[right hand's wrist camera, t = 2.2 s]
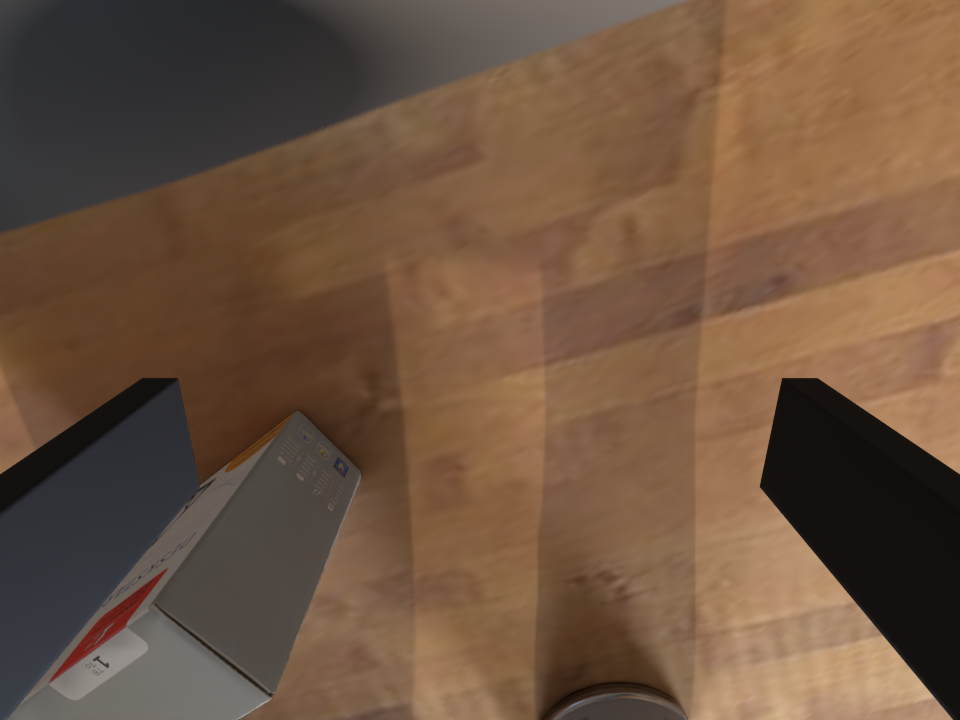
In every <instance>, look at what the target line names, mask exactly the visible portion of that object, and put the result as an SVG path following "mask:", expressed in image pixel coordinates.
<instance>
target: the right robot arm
mask: <svg viewBox="0 0 960 720" xmlns="http://www.w3.org/2000/svg"><path fill="white" fill-rule="evenodd" d="M199 488H200V483H199V478H198V473H197V469H196V464H195V459H194V454H193V449H192V444H191V440H190V435H189V430H188V425H187V420H186V415H185V411H184V406H183V401H182V396H181V391H180V386H179V382H178V378H142V379H141V380H139V381H138V382H136V383H135V384H133V385H132V386H130V387H129V388H127V389H126V390H124V391H123V392H121V393H120V394H118V395H117V396H115V397H114V398H113V399H111V400H110V401H108V402H107V403H105V404H104V405H102V406H101V407H99V408H98V409H96V410H95V411H93V412H92V413H90V414H89V415H87V416H86V417H84V418H83V419H81V420H80V421H79V422H77V423H76V424H74V425H73V426H71V427H70V428H68V429H67V430H65V431H64V432H62V433H61V434H59V435H58V436H56V437H55V438H53V439H52V440H50V441H49V442H47V443H46V444H44V445H43V446H42V447H40V448H39V449H37V450H36V451H34V452H33V453H31V454H30V455H28V456H27V457H25V458H24V459H22V460H21V461H19V462H18V463H16V464H15V465H13V466H12V467H10V468H9V469H7V470H6V471H5V472H3V473H2V474H0V720H7V719H8V718H9V716H10V715H11V714H12V713H13V712H14V710H15V709H16V708H17V707H18V706H19V704H20V703H21V702H22V701H23V700H24V698H25V697H26V696H27V695H28V694H29V692H30V691H31V690H32V689H33V688H34V686H35V685H36V684H37V683H38V682H39V680H40V679H41V678H42V677H43V676H44V674H45V673H46V672H47V671H48V670H49V668H50V667H51V666H52V665H53V664H54V662H55V661H56V660H57V659H58V657H59V656H60V655H61V654H62V653H63V651H64V650H65V649H66V648H67V647H68V645H69V644H70V643H71V642H72V641H73V639H74V638H75V637H76V636H77V635H78V633H79V632H80V631H81V630H82V629H83V627H84V626H85V625H86V624H87V623H88V621H89V620H90V619H91V618H92V617H93V615H94V614H95V613H96V612H97V611H98V609H99V608H100V607H101V606H102V605H103V603H104V602H105V601H106V600H107V599H108V597H109V596H110V595H111V594H112V592H113V591H114V590H115V589H116V588H117V586H118V585H119V584H120V583H121V582H122V580H123V579H124V578H125V577H126V576H127V574H128V573H129V572H130V571H131V570H132V568H133V567H134V566H135V565H136V564H137V562H138V561H139V560H140V559H141V558H142V556H143V555H144V554H145V553H146V552H147V550H148V549H149V548H150V547H151V546H152V544H153V543H154V542H155V541H156V540H157V538H158V537H159V536H160V535H161V534H162V532H163V531H164V530H165V529H166V527H167V526H168V525H169V524H170V523H171V521H172V520H173V519H174V518H175V517H176V515H177V514H178V513H179V512H180V511H181V509H182V508H183V507H184V506H185V505H186V503H187V502H188V501H189V500H190V499H191V497H192V496H193V495H194V494H195V493H196V491H197V490H198V489H199ZM760 488H761V489H762V490H763V491H764V493H765V494H766V495H767V496H768V497H769V499H770V500H771V501H772V502H773V503H774V505H775V506H776V507H777V508H778V509H779V511H780V512H781V513H782V514H783V515H784V517H785V518H786V519H787V520H788V521H789V523H790V524H791V525H792V526H793V527H794V529H795V530H796V531H797V532H798V534H799V535H800V536H801V537H802V538H803V540H804V541H805V542H806V543H807V544H808V546H809V547H810V548H811V549H812V550H813V552H814V553H815V554H816V555H817V556H818V558H819V559H820V560H821V561H822V562H823V564H824V565H825V566H826V567H827V568H828V570H829V571H830V572H831V573H832V574H833V576H834V577H835V578H836V579H837V580H838V582H839V583H840V584H841V585H842V586H843V588H844V589H845V590H846V591H847V592H848V594H849V595H850V596H851V597H852V599H853V600H854V601H855V602H856V603H857V605H858V606H859V607H860V608H861V609H862V611H863V612H864V613H865V614H866V615H867V617H868V618H869V619H870V620H871V621H872V623H873V624H874V625H875V626H876V627H877V629H878V630H879V631H880V632H881V633H882V635H883V636H884V637H885V638H886V639H887V641H888V642H889V643H890V644H891V645H892V647H893V648H894V649H895V650H896V651H897V653H898V654H899V655H900V656H901V657H902V659H903V660H904V661H905V662H906V664H907V665H908V666H909V667H910V668H911V670H912V671H913V672H914V673H915V674H916V676H917V677H918V678H919V679H920V680H921V682H922V683H923V684H924V685H925V686H926V688H927V689H928V690H929V691H930V692H931V694H932V695H933V696H934V697H935V698H936V700H937V701H938V702H939V703H940V704H941V706H942V707H943V708H944V709H945V710H946V712H947V713H948V714H949V715H950V716H951V718H952V719H953V720H960V474H958V473H957V472H955V471H954V470H953V469H951V468H950V467H948V466H947V465H945V464H944V463H942V462H941V461H939V460H938V459H936V458H935V457H933V456H932V455H930V454H929V453H927V452H926V451H924V450H923V449H921V448H920V447H918V446H917V445H916V444H914V443H913V442H911V441H910V440H908V439H907V438H905V437H904V436H902V435H901V434H899V433H898V432H896V431H895V430H893V429H892V428H890V427H889V426H887V425H886V424H884V423H883V422H881V421H880V420H879V419H877V418H876V417H874V416H873V415H871V414H870V413H868V412H867V411H865V410H864V409H862V408H861V407H859V406H858V405H856V404H855V403H853V402H852V401H850V400H849V399H847V398H846V397H845V396H843V395H842V394H840V393H839V392H837V391H836V390H834V389H833V388H831V387H830V386H828V385H827V384H825V383H824V382H822V381H821V380H819V379H818V378H782V382H781V386H780V391H779V396H778V401H777V406H776V411H775V415H774V420H773V425H772V430H771V435H770V440H769V444H768V449H767V454H766V459H765V464H764V469H763V473H762V478H761V483H760ZM544 720H688V718H687V716H686V714H685V712H684V711H683V709H682V708H681V707H680V706H679V705H678V704H677V703H676V702H675V701H674V700H673V699H671V698H670V697H669V696H667V695H665V694H664V693H661V692H659V691H657V690H654V689H652V688H649V687H645V686H640V685H634V684H606V685H600V686H595V687H591V688H587V689H584V690H582V691H579V692H577V693H574V694H573V695H571V696H569V697H567V698H565V699H564V700H562V701H561V702H560V703H558V704H557V705H556V706H555V707H554V708H552V709H551V711H550V712H549V713H548V714H547V715H546V717H545V718H544Z"/></svg>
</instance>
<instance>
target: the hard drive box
mask: <svg viewBox="0 0 960 720" xmlns="http://www.w3.org/2000/svg"><path fill="white" fill-rule="evenodd" d="M360 474H361V472H360V470H359V469H358V468H357V467H356V466H355V465H354V464H353V463H352V462H351V461H350V460H349V459H348V458H347V457H346V456H345V455H344V454H343V453H342V452H341V451H340V450H339V449H338V448H337V447H336V446H335V445H334V444H333V443H332V442H331V441H330V440H329V439H328V438H327V437H326V436H325V435H323V434H322V433H321V432H320V431H319V430H318V428H317V427H316V426H315V425H314V424H313V423H312V422H311V421H310V420H309V419H307V418H306V417H305V416H304V415H303V414H302V413H301V412H300V411H295V412H294V413H293V414H291V415H290V416H289V417H287V418H286V419H285V420H283V421H282V422H281V423H279V424H278V425H277V426H276V427H275V428H273V429H272V430H270V431H269V432H268V433H267V434H265V435H264V436H263V437H261V438H260V439H259V440H258V441H256V442H255V443H254V444H253V445H251V446H250V447H249V448H247V449H246V450H245V451H244V452H242V453H241V454H240V455H238V456H237V457H236V458H235V459H233V460H232V461H231V462H229V463H228V464H227V465H226V466H224V467H223V468H222V469H220V470H219V471H218V472H217V473H215V474H214V475H213V476H211V477H210V478H209V479H208V480H206V481H205V482H203V483H202V484H201V485H200V488H199V489H198V490H197V491H196V493H195V494H194V495H193V496H192V497H191V499H190V500H189V501H188V502H187V503H186V505H185V506H184V507H183V508H182V509H181V511H180V512H179V513H178V514H177V515H176V517H175V518H174V519H173V520H172V521H171V523H170V524H169V525H168V526H167V527H166V529H165V530H164V531H163V532H162V534H161V535H160V536H159V537H158V538H157V540H156V541H155V542H154V543H153V544H152V546H151V547H150V548H149V549H148V550H147V552H146V553H145V554H144V555H143V556H142V558H141V559H140V560H139V561H138V562H137V564H136V565H135V566H134V567H133V568H132V570H131V571H130V572H129V573H128V574H127V576H126V577H125V578H124V579H123V580H122V582H121V583H120V584H119V585H118V586H117V588H116V589H115V590H114V591H113V592H112V594H111V595H110V596H109V597H108V599H107V600H106V601H105V602H104V603H103V605H102V606H101V607H100V608H99V609H98V611H97V612H96V613H95V614H94V615H93V617H92V618H91V619H90V620H89V621H88V623H87V624H86V625H85V626H84V627H83V629H82V630H81V631H80V632H79V633H78V635H77V636H76V637H75V638H74V639H73V641H72V642H71V643H70V644H69V645H68V647H67V648H66V649H65V650H64V651H63V653H62V654H61V655H60V656H59V657H58V659H57V660H56V661H55V662H54V664H53V665H52V666H51V667H50V668H49V670H48V671H47V672H46V673H45V674H44V676H43V677H42V678H41V679H40V680H39V682H38V683H37V684H36V685H35V686H34V688H33V689H32V690H31V691H30V692H29V694H28V695H27V696H26V697H25V698H24V700H23V701H22V702H21V703H20V704H19V706H18V707H17V708H16V709H15V710H14V712H13V713H12V714H11V715H10V716H9V718H8V719H7V720H240V719H242V718H243V717H245V716H246V715H248V714H249V713H251V712H253V711H254V710H256V709H257V708H259V707H260V706H262V705H263V704H265V703H266V702H268V701H269V700H271V699H272V697H273V695H274V693H275V691H276V689H277V686H278V684H279V681H280V679H281V676H282V674H283V672H284V669H285V667H286V664H287V662H288V660H289V657H290V654H291V652H292V649H293V647H294V644H295V641H296V639H297V636H298V634H299V631H300V629H301V626H302V624H303V621H304V619H305V616H306V614H307V611H308V609H309V606H310V604H311V601H312V599H313V596H314V594H315V591H316V589H317V586H318V584H319V581H320V579H321V576H322V574H323V572H324V569H325V567H326V564H327V562H328V559H329V557H330V554H331V552H332V549H333V547H334V544H335V542H336V539H337V537H338V534H339V532H340V529H341V527H342V524H343V522H344V519H345V517H346V514H347V512H348V509H349V507H350V505H351V502H352V500H353V497H354V495H355V492H356V490H357V487H358V485H359V482H360V480H361V475H360Z"/></svg>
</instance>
